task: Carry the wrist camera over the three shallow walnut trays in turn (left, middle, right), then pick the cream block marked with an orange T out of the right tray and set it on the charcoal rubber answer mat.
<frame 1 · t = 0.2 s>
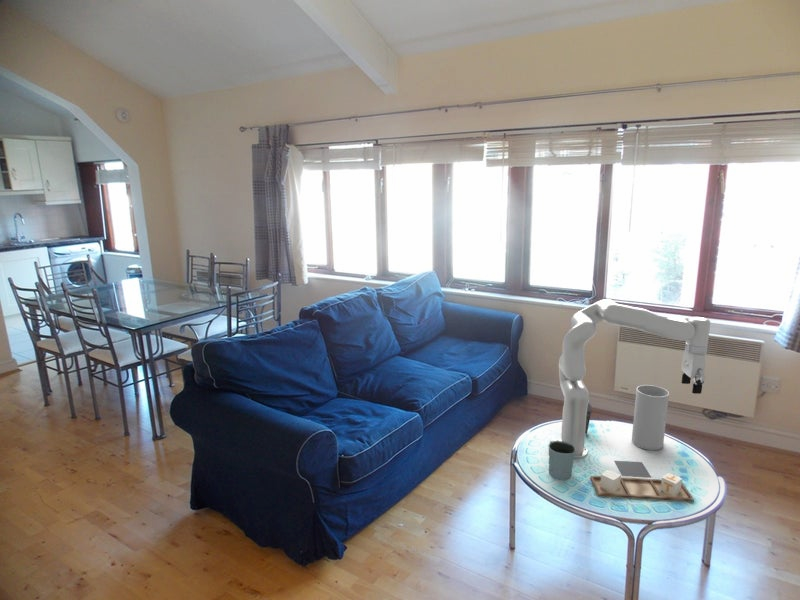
hand: (691, 388, 202), 31 cm above the table, tool pointing down, fingers open, 9 cm apart
letter block: (670, 491, 186), resting on tray board
cylinder vase: (647, 443, 220), on the table
tray board: (639, 490, 187), on the table
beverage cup: (582, 432, 231), on the table
answer mat: (632, 469, 201), on the table
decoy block: (609, 487, 189), resting on tray board
grey green pot: (560, 474, 199), on the table
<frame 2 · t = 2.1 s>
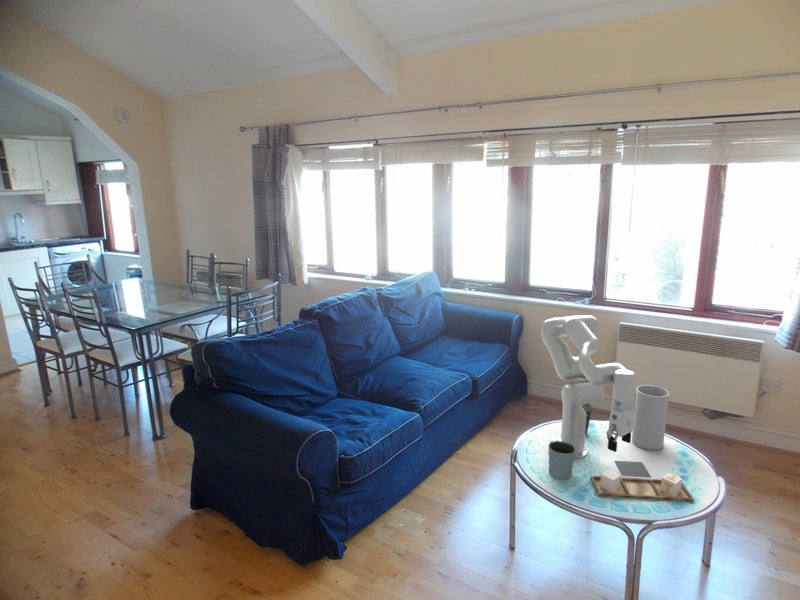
hand: (619, 445, 186), 17 cm above the table, tool pointing down, fingers open, 9 cm apart
nothing on the table moved.
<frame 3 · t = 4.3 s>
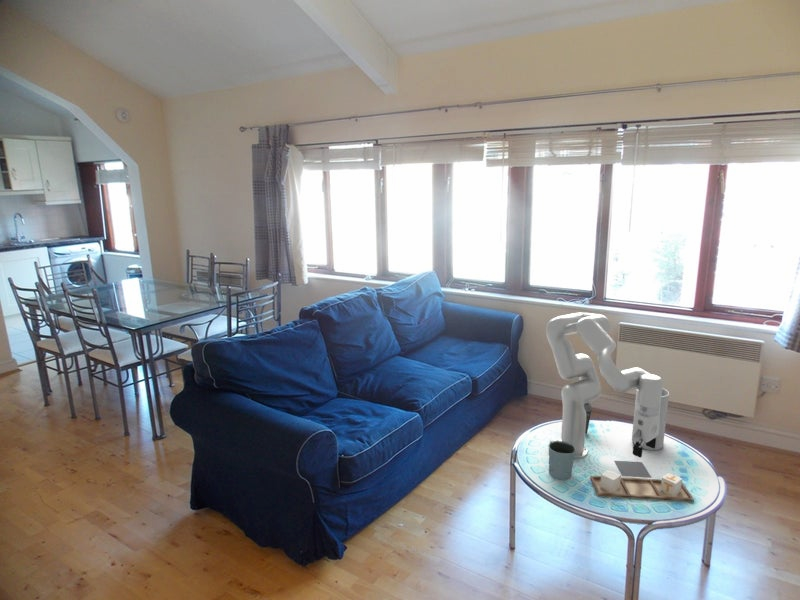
hand: (643, 451, 183), 16 cm above the table, tool pointing down, fingers open, 9 cm apart
nothing on the table moved.
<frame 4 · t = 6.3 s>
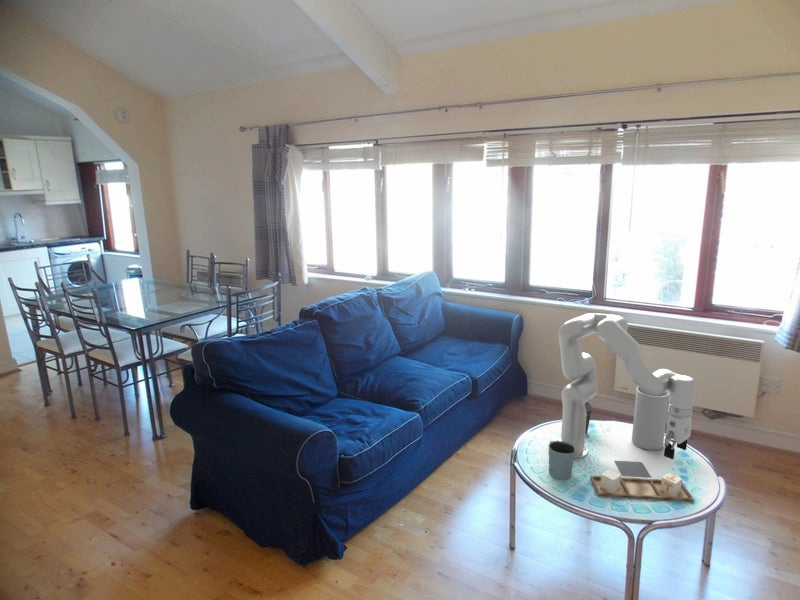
hand: (675, 452, 182), 16 cm above the table, tool pointing down, fingers open, 9 cm apart
nothing on the table moved.
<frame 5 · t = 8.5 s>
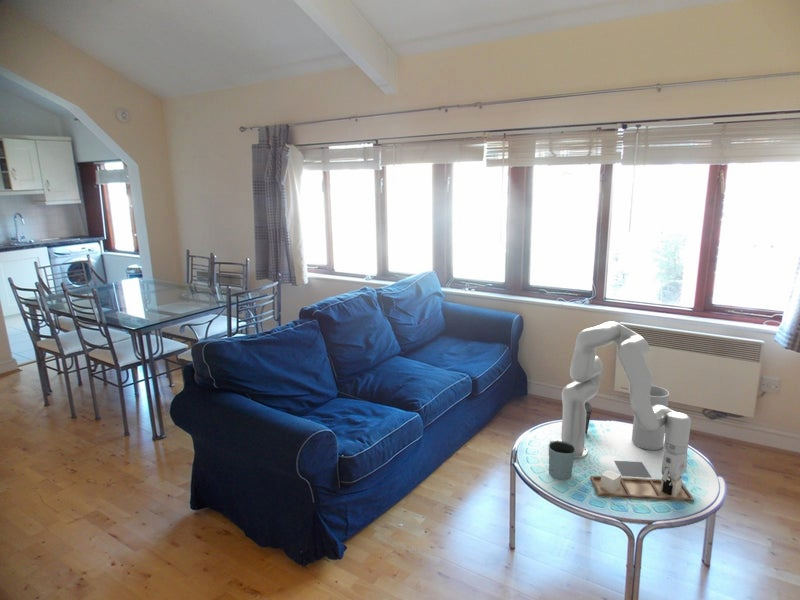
hand: (670, 489, 186), 1 cm above the table, tool pointing down, fingers closed on letter block, 5 cm apart
letter block: (670, 491, 186), resting on tray board, touching gripper
everything else where it was.
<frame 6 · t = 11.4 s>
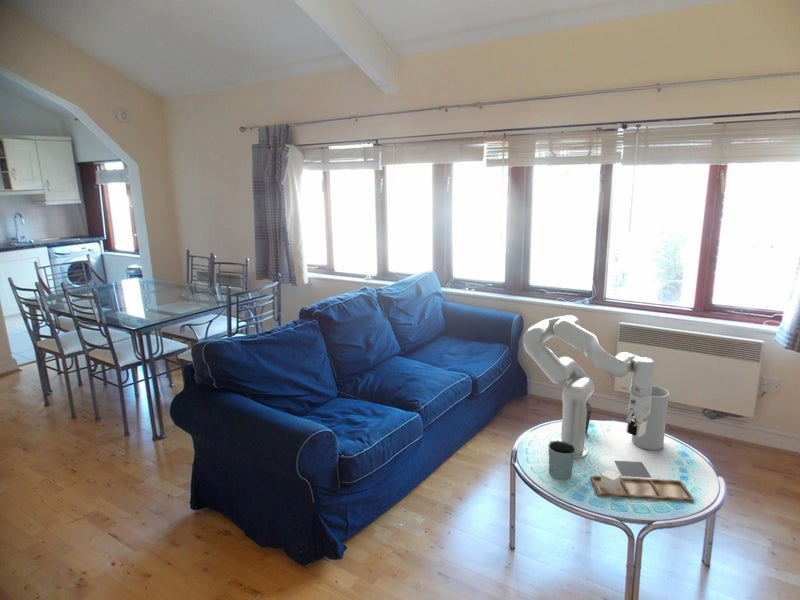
hand: (635, 431, 196), 17 cm above the table, tool pointing down, fingers closed on letter block, 5 cm apart
letter block: (635, 432, 197), point 16 cm above the table, touching gripper
everything else where it was.
when the fingers open (3 cm above the table, at t = 14.7 s): letter block drops 2 cm, resting on answer mat.
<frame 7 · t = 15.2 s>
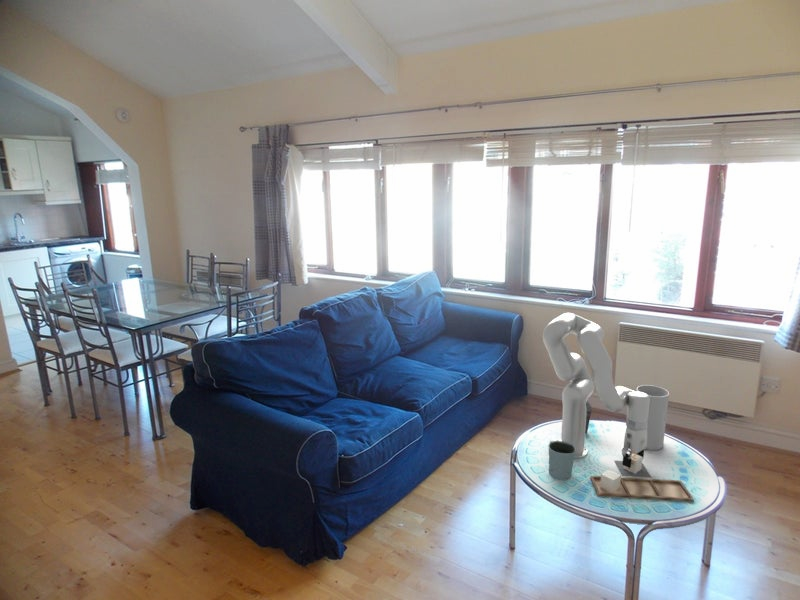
hand: (632, 461, 200), 4 cm above the table, tool pointing down, fingers open, 9 cm apart
letter block: (632, 468, 200), resting on answer mat
everything else where it was.
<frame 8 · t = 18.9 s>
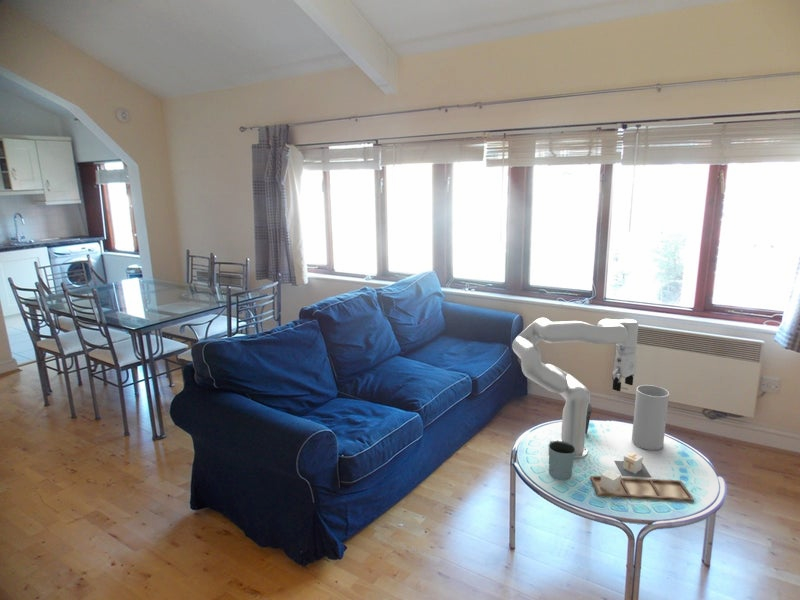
hand: (622, 387, 211), 28 cm above the table, tool pointing down, fingers open, 9 cm apart
nothing on the table moved.
at the end: letter block inside the target area on the answer mat (0.0 cm from its centre), point 0.4 cm above the answer mat's base; letter block tilted 0°; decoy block moved 0.0 cm from its start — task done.
